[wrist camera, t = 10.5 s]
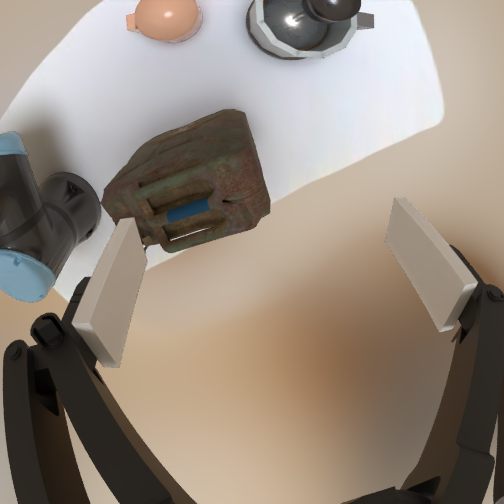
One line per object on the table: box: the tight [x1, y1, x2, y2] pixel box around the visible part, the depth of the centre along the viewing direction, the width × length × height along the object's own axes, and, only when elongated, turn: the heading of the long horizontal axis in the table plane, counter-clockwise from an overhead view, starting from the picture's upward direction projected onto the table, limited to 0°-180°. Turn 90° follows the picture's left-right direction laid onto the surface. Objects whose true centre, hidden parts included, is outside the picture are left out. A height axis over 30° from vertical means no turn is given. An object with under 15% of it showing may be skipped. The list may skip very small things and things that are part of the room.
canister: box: [101, 109, 270, 254], centre depth 37 cm, size 19×8×25 cm, turn 108°
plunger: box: [263, 0, 361, 48], centre depth 24 cm, size 9×9×18 cm
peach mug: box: [126, 0, 202, 43], centre depth 30 cm, size 10×8×9 cm
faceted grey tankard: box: [246, 0, 374, 60], centre depth 30 cm, size 15×13×13 cm
